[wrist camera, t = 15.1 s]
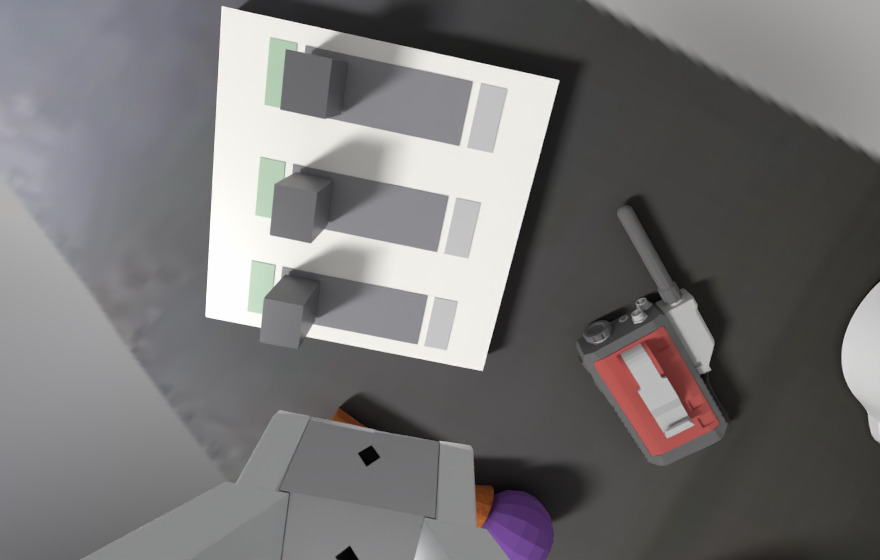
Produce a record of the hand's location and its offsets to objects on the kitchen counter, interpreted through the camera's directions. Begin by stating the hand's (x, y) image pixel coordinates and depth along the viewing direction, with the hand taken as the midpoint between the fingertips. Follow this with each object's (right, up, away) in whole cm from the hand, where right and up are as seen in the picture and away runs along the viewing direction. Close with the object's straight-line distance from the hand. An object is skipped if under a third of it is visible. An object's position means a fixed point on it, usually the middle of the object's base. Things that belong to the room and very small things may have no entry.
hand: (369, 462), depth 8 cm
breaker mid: (-7, +8, +26) cm, 28 cm away
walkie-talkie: (+16, -1, +32) cm, 35 cm away
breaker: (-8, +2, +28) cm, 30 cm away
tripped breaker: (-6, +14, +23) cm, 28 cm away
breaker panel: (-4, +8, +28) cm, 30 cm away
